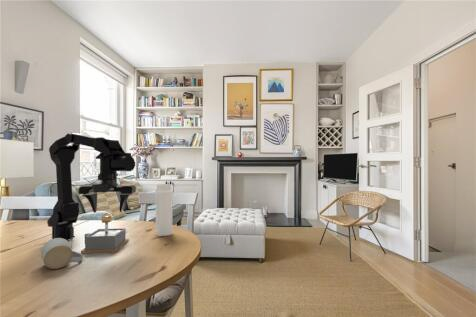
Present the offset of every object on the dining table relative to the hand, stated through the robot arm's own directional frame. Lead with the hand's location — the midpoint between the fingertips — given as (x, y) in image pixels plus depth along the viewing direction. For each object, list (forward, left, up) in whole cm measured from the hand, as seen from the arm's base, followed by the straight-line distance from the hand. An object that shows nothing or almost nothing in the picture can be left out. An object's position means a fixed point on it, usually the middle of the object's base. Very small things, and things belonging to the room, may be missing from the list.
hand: (107, 212), depth 93 cm
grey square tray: (0, -1, -13) cm, 13 cm away
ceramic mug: (-7, -15, -13) cm, 21 cm away
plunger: (0, -1, -8) cm, 8 cm away
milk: (+18, +14, -13) cm, 26 cm away
